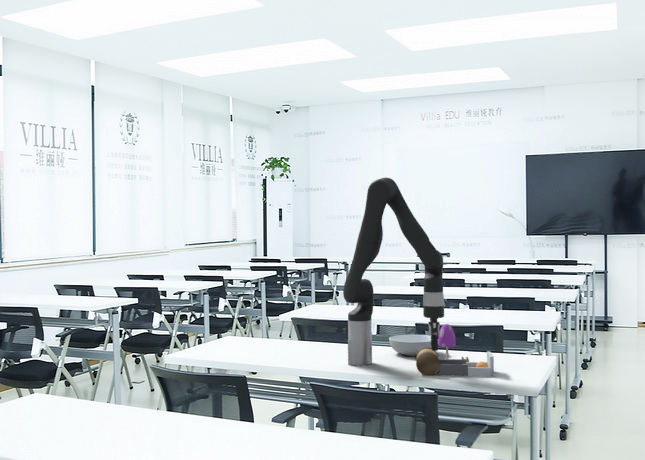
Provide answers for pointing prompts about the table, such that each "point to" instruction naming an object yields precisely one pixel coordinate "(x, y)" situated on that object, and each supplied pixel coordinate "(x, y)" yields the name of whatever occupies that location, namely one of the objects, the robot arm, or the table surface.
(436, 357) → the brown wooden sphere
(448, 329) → the toy
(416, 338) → the serving bowl
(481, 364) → the ball
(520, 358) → the table surface
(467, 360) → the tee
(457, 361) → the grey piece
